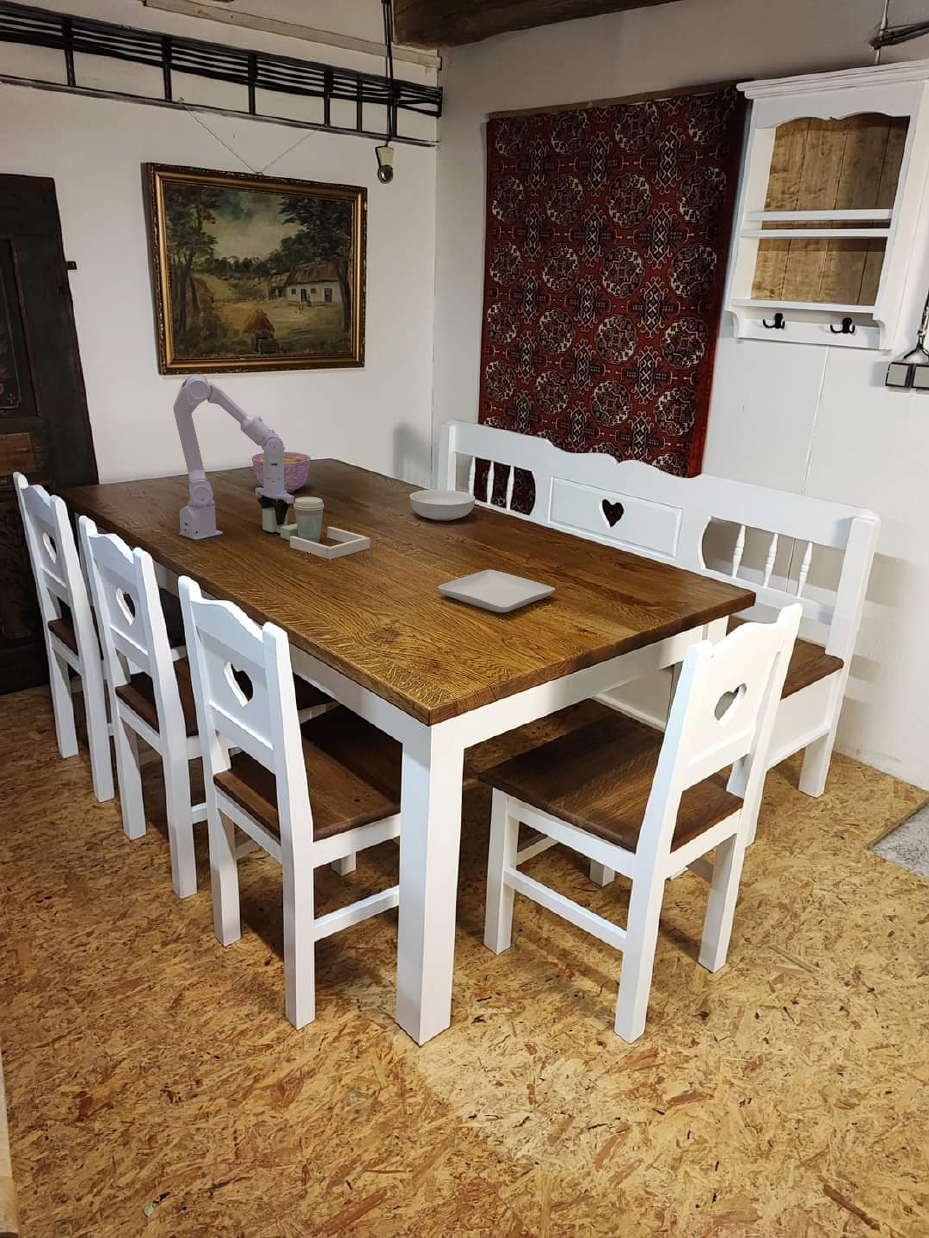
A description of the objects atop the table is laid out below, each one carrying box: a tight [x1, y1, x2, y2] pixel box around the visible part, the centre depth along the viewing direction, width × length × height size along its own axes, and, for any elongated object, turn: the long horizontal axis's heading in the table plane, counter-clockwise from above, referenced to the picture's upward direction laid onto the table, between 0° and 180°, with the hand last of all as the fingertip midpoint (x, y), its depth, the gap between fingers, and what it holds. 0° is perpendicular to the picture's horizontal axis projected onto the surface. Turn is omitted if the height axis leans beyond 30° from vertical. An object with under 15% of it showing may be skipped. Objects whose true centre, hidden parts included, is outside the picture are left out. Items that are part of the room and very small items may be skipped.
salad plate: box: [437, 569, 556, 614], centre depth 219 cm, size 21×21×3 cm
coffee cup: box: [292, 496, 325, 544], centre depth 255 cm, size 8×9×12 cm
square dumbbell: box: [261, 507, 299, 541], centre depth 262 cm, size 8×13×6 cm, turn 52°
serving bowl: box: [409, 489, 476, 522], centre depth 288 cm, size 21×21×7 cm
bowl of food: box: [251, 451, 312, 494], centre depth 311 cm, size 20×20×12 cm
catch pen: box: [289, 526, 371, 560], centre depth 252 cm, size 15×16×3 cm
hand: (275, 523), depth 265 cm, fingers closed on square dumbbell, 4 cm apart
